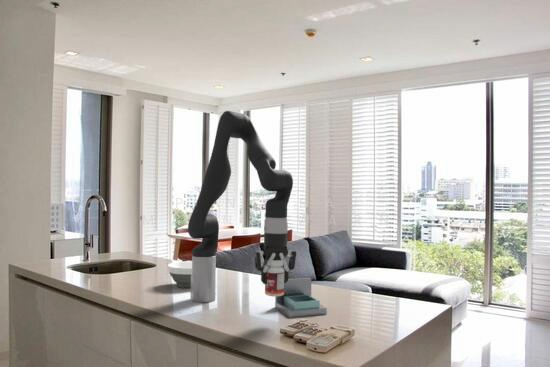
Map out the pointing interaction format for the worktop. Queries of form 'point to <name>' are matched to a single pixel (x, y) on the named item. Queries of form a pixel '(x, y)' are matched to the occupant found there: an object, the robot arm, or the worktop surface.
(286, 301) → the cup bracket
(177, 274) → the bowl
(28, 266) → the worktop surface
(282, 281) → the pill bottle
